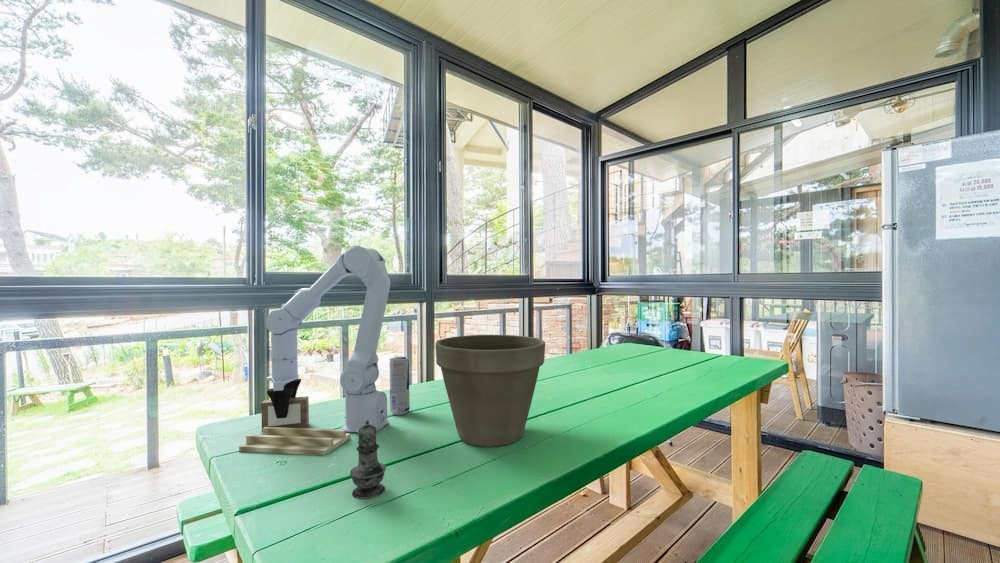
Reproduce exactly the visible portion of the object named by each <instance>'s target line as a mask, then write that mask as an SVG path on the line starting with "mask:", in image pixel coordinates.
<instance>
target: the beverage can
mask: <svg viewBox="0 0 1000 563" xmlns="http://www.w3.org/2000/svg"><path fill="white" fill-rule="evenodd" d="M389 399H390V400H389V401H390V402H389V403H390V404H389V405H390V413H392V415H394V416H405V415H406V414H408V412H410V409H411V407H410V406H411V400H410V399H411V398H410V361H409V357H407V356H395V357H390V358H389Z"/></svg>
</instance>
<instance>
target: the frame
mask: <svg viewBox="0 0 1000 563" xmlns="http://www.w3.org/2000/svg"><path fill="white" fill-rule="evenodd" d="M260 404H261V407H260V408H261V433H263V428H264V427H283V428H308V426H309V425H310V424H309V423H310V418H309V417H310V413H309V396H308V395H307V396H296V397H294V398H290V402H289V409H288V415H287V417H286V418H279V419H277V417H276V414H275V410H274V406H273V403H272V401H271V399H270V398H269V399H264V400H263V401H262V402H261V403H260Z"/></svg>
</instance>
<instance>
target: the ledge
mask: <svg viewBox="0 0 1000 563" xmlns="http://www.w3.org/2000/svg"><path fill="white" fill-rule="evenodd" d="M245 439H246V440H245V441H246V442H245V443H244V444H241V445H239V446H238V450H239V452H243V453H244V452H245V453H246V452H247V453H249V452H250V453H266V454H267V453H269V454H284V455H285V454H287V455H288V454H289V455H307V456H308V455H309V456H327V455H328V454H330V453H331V452H332V451H335V449H337V448H339V447H340V446H341V445H342V444H344V443H345V442H347V441H349V440H350V439H351V432H346V430H338V429H336V428H335V429H329V428H328V429H327V428H308V427H305V428H283V427H264V428H263V432H262V434H247V435H246V436H245Z"/></svg>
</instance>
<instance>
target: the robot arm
mask: <svg viewBox="0 0 1000 563" xmlns="http://www.w3.org/2000/svg"><path fill="white" fill-rule="evenodd" d="M349 276H357V277H358V278H359V279H360V280H361V282H362V283H363V284H364V286H366V293H365V298H364V302H363V308H362V312H361V316H360V321H359V326H358V330H357V334H356V340H355V345H354V350H353V353H351V355H350V357H349V358H348V360H347V364H346V367H345V369H344V370H343V371H342V373H341V375H340V379H339V382H340V385H341V386H340V387H341V388H342V389H343V390H344V396H345V397H344V401H345V402H344V404H345V407H344V408H345V413H344V414H345V425H343V426H342V427H340V428H339V429H337V430H346V433H359V429H360V428H361V427H362V426H364V425H366V423H365V422H366V421H367V420H368V421H369V424H370V425H373V426H375V428H376V433H377V432H378V431H380V430H382V428H384V426H386V425H388V424H389V422H390V421H389V420H388V397H387V394H386V392H384V391H380V390H378V389H377V386H376V382H377V381H378V378H379V376H380V369H379V366H378V364H379V363H378V362H379V356H378V354H377V349H378V346H379V341H380V336H381V330H382V326H383V322H384V319H385V318H384V317H385V313H386V309H387V308H386V307H387V303H388V298H389V295H390V294H389V293H390V289H391V284H392V283H391V279H390V276H389V273H388V270H387V267H386V260H385V258H384V257H383V256H382V255H381V254H380V252H379V251H378V250H376V249H374V248H368V247H367V248H366V247H363V246H360V245H353V246H349V247H348V248H347V249H346V250H345V252H344V253H341V254H339V255H338V257H337V259H336V260H335V261H334V262H333V263H332V265H330V267H329V268H328V269H327V270H326V271H324V273H323V274H322V275H321V276H320V277H319V278H318V279H317V280H316V281H315V282H314V283H313V284H312V285H311V286H310V287H302V288H300V289H296V290H295V291H294V292H293V294H294V295H293V296H292V297H291V298H290V299H289V300H288V301H287V302H286V303H282V304H281V305H280V307H281V308H279V309H274V310H271V311H270V312H269V314H268V315H267V317H266V319H265V325H266V328H267V330H268V331H269V332H270V339H271V340H270V342H271V345H270V346H271V350H270V351H271V375H269V376H267V377H266V382H268V381H269V382H271V383H273V384H272V386H273V387H272V388H268V389H267V390H266V394H267V396H268V397H269V400H270V399H271V401H272V403H273V406H274V410H275V414H276V417H277V419H279V418H286V417H287V415H288V409H289V402H290V398H294V397H297V391H298V389H299V387H300V384H301V383H302V378H299V377H300V376H299V374H298V372H299V371H298V331H299V329H300V328H301V327H302V322H303V321H304V320H305V319H306V318H307V317H308V316H309V315H310V314H312V313H313V312H314V311H315V310H316V309H317V308H318V307H319V306H320V305H321V301H322V300H321V299H322V297H323V296H324V295H325V294H326V293H327V292H328V291H330V290H331V289H332V288H333V287H334V286H336V285H337V284H338V283H339V282H340V281H342V280H343V279H344V278H345V277H349Z"/></svg>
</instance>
